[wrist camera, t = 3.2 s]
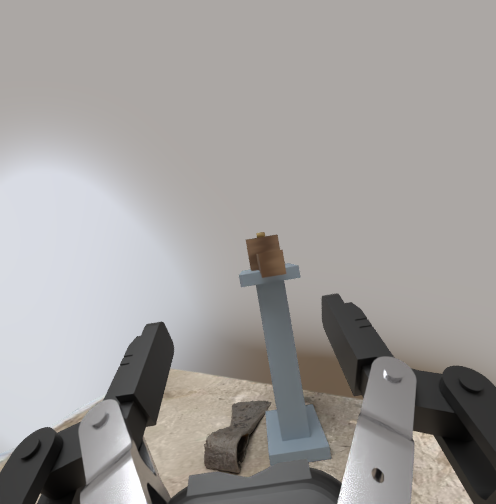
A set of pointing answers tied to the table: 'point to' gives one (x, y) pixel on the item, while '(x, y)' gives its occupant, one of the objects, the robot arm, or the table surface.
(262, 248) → the marking gauge
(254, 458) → the table surface
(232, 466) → the axe head
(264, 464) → the table surface
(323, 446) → the stand
